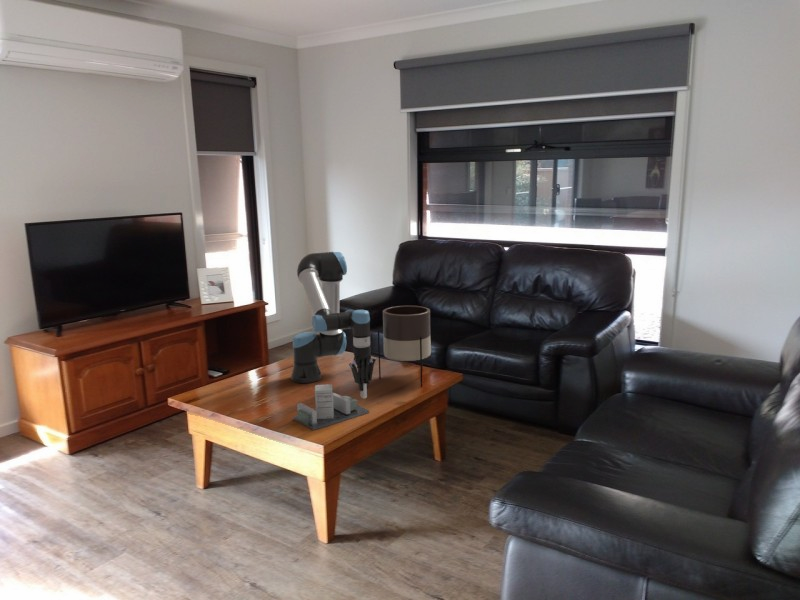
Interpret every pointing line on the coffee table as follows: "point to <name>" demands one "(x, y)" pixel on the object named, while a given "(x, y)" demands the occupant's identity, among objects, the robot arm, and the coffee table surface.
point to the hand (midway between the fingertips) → (363, 397)
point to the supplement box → (324, 401)
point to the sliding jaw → (344, 403)
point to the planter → (406, 334)
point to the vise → (310, 420)
